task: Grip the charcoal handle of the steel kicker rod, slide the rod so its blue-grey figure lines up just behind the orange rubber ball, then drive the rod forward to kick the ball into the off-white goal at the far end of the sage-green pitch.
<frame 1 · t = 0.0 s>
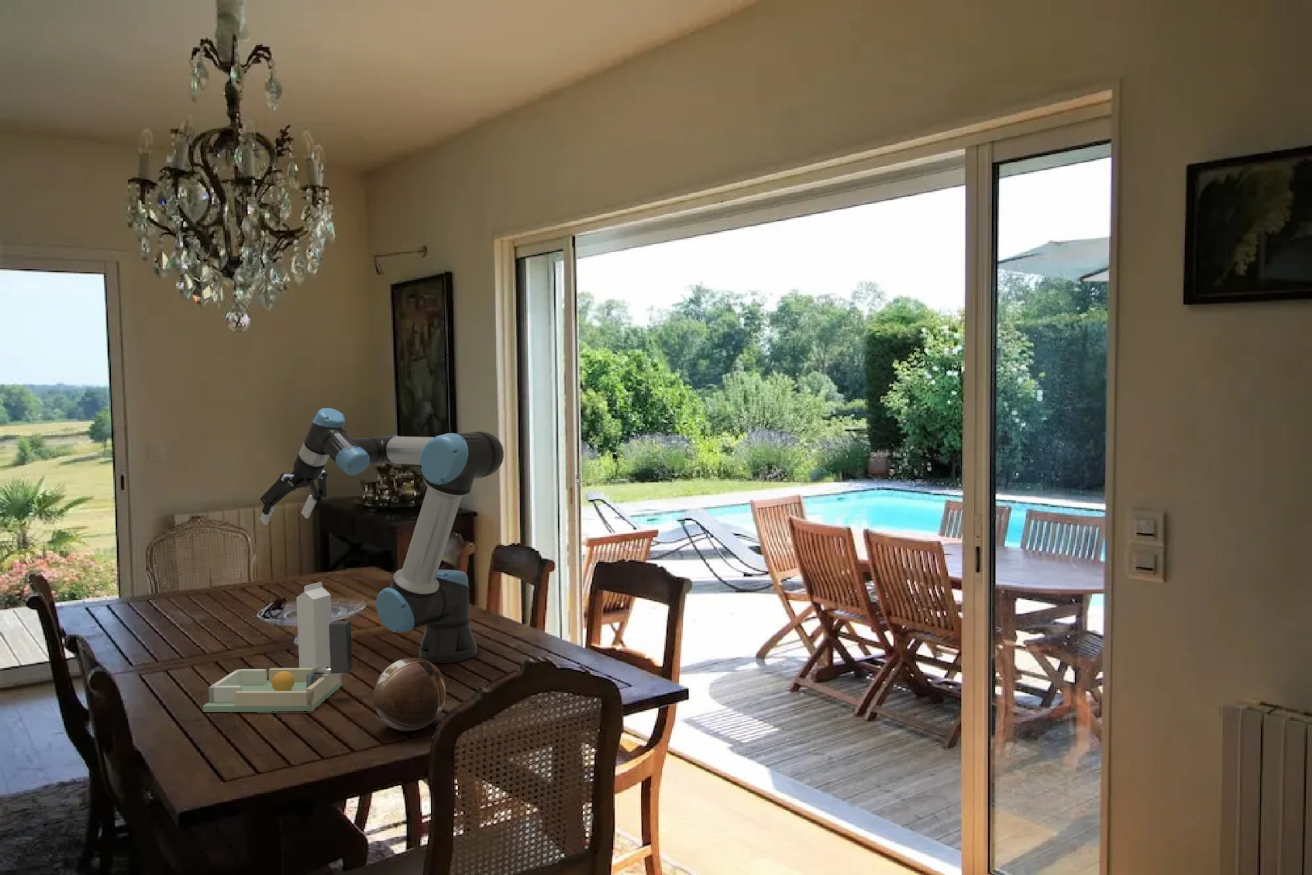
hand: (284, 518, 261), 36 cm above the table, tool tilted 35°, fingers open, 13 cm apart
milk: (316, 668, 242), on the table
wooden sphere: (411, 729, 197), on the table
ball: (283, 681, 217), point 4 cm above the table, touching pitch
pitch: (275, 698, 218), on the table
kicker rod: (330, 656, 217), point 10 cm above the table, slide at 0.0 cm
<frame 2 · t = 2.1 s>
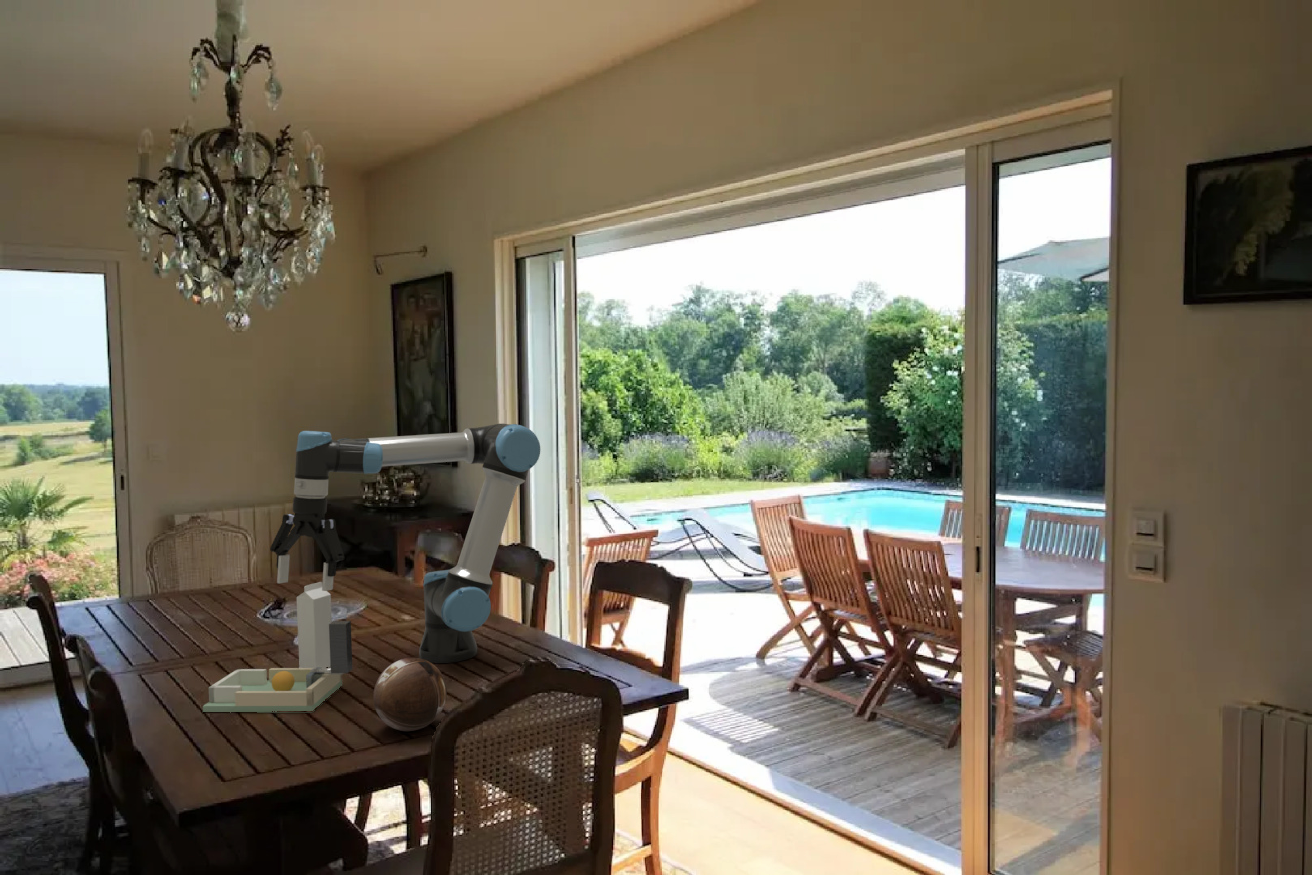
hand: (304, 586, 219), 26 cm above the table, tool pointing down, fingers open, 13 cm apart
nothing on the table moved.
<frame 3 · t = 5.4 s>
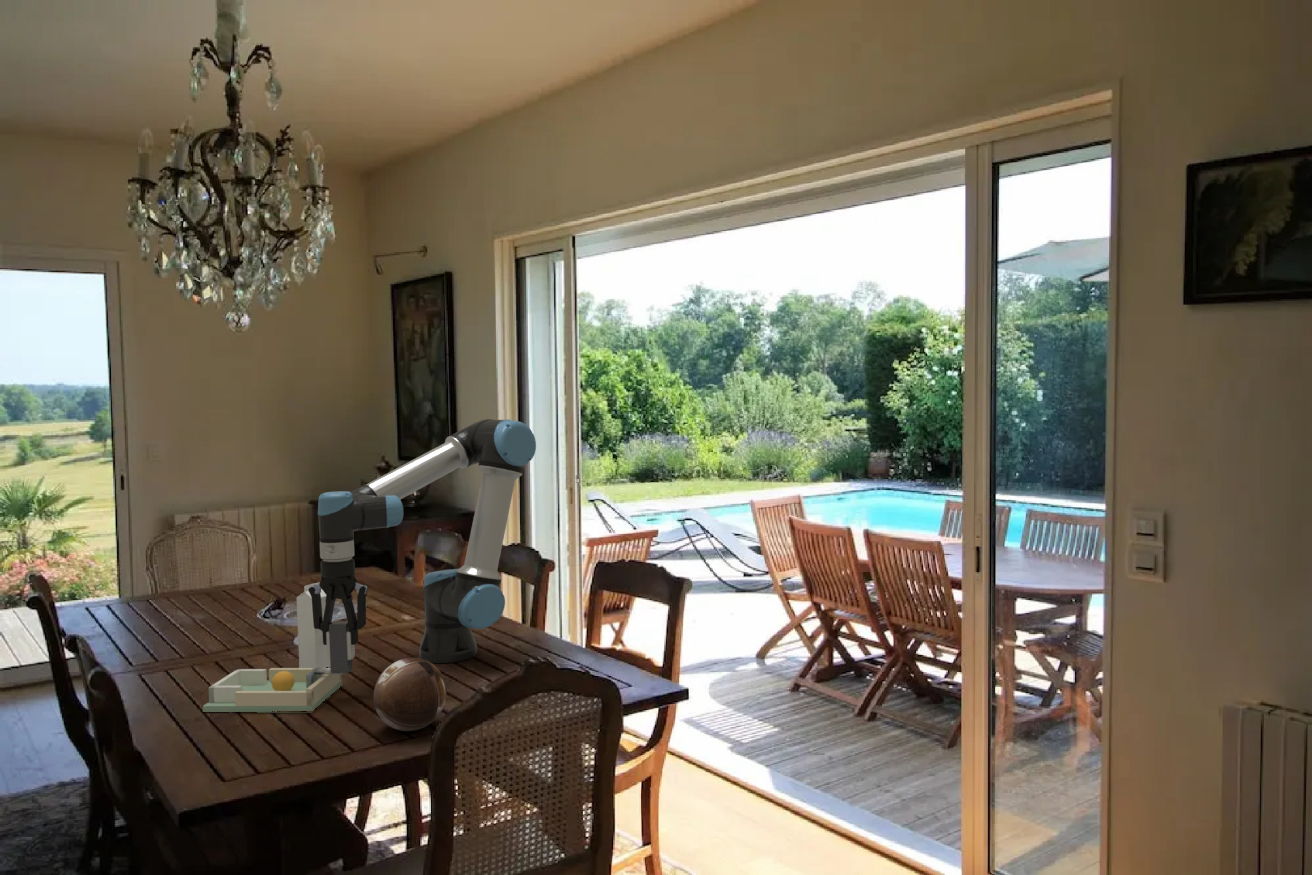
hand: (341, 657, 217), 10 cm above the table, tool pointing down, fingers closed on kicker rod, 4 cm apart
kicker rod: (330, 656, 217), point 10 cm above the table, slide at 0.0 cm, touching gripper
everything else where it was.
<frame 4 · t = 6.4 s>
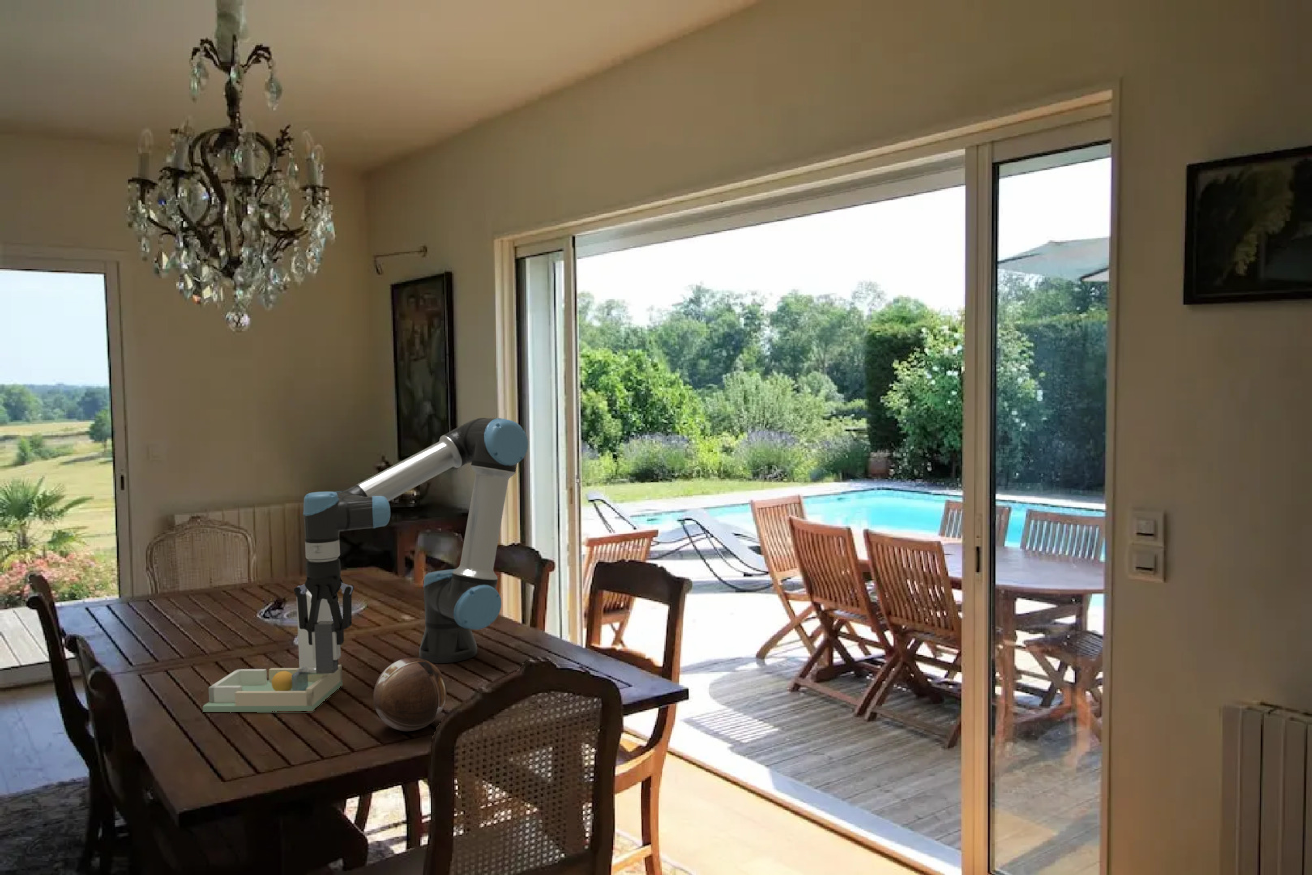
hand: (326, 657, 217), 10 cm above the table, tool pointing down, fingers closed on kicker rod, 4 cm apart
kicker rod: (315, 656, 217), point 10 cm above the table, slide at 3.4 cm, touching gripper
everything else where it was.
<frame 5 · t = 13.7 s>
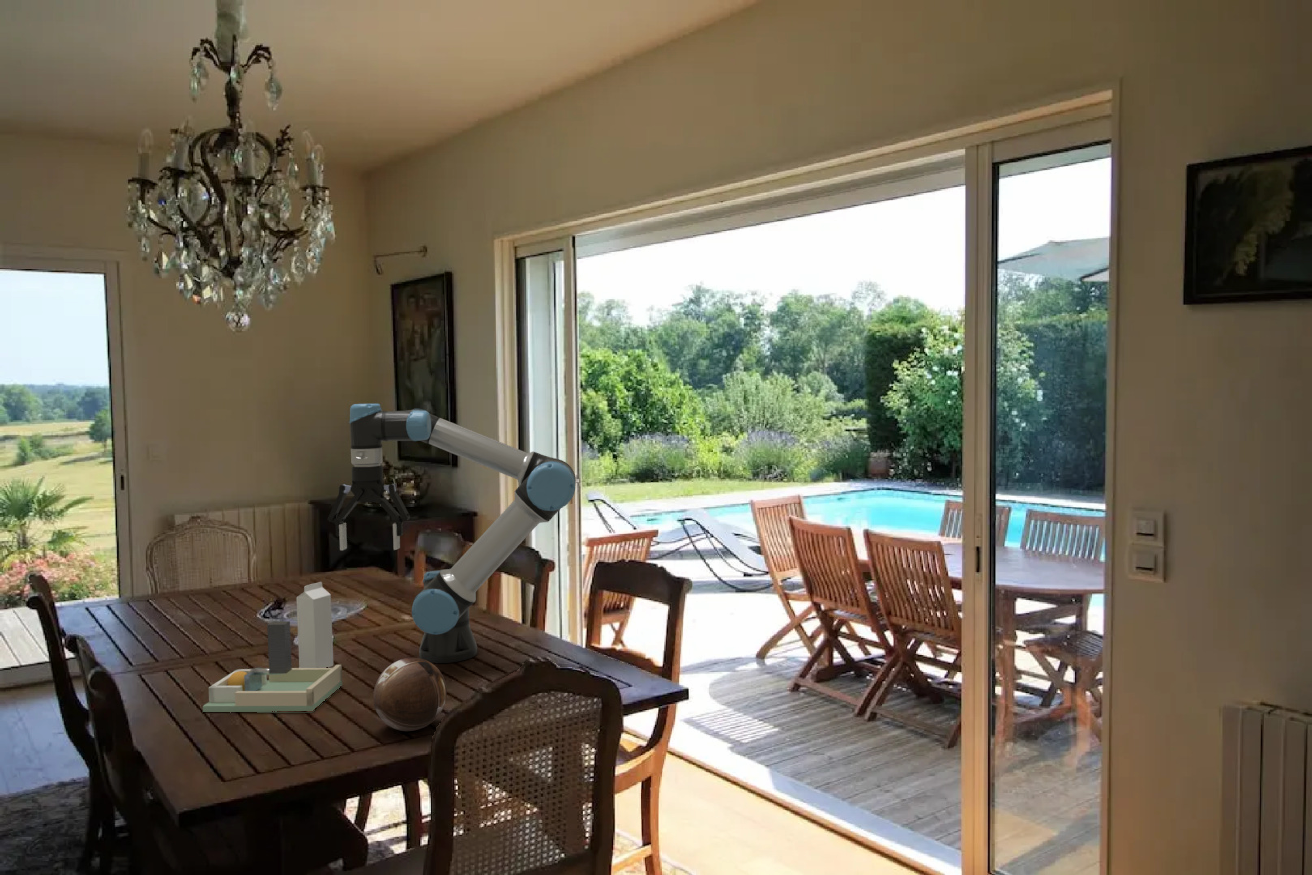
hand: (370, 549, 234), 32 cm above the table, tool pointing down, fingers open, 13 cm apart
ball: (239, 682, 218), point 4 cm above the table, tilted 126°, touching pitch
kicker rod: (269, 656, 217), point 10 cm above the table, slide at 14.5 cm
everything else where it was.
at the end: ball inside the target area (0.4 cm from its centre), point 4.0 cm above the table; ball moved 10.4 cm from its start; kicker rod slide at 14.5 cm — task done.
